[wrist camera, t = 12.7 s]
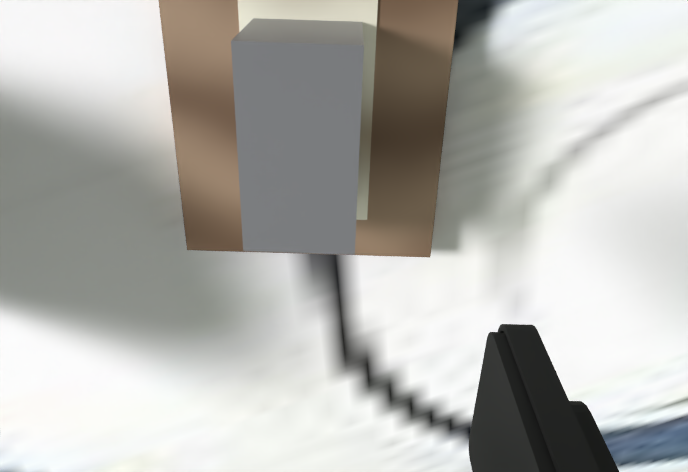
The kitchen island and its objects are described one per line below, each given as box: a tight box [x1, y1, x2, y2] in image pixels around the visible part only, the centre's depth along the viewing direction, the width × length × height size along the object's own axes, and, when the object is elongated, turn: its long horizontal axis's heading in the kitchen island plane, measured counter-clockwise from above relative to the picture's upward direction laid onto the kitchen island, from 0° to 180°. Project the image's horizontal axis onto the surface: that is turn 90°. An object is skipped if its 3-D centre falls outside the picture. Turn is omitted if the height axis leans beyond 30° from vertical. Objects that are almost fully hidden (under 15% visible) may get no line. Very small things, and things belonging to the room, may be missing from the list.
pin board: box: [159, 0, 458, 257], centre depth 25 cm, size 14×12×4 cm
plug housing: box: [231, 18, 364, 255], centre depth 24 cm, size 8×4×5 cm, turn 178°
